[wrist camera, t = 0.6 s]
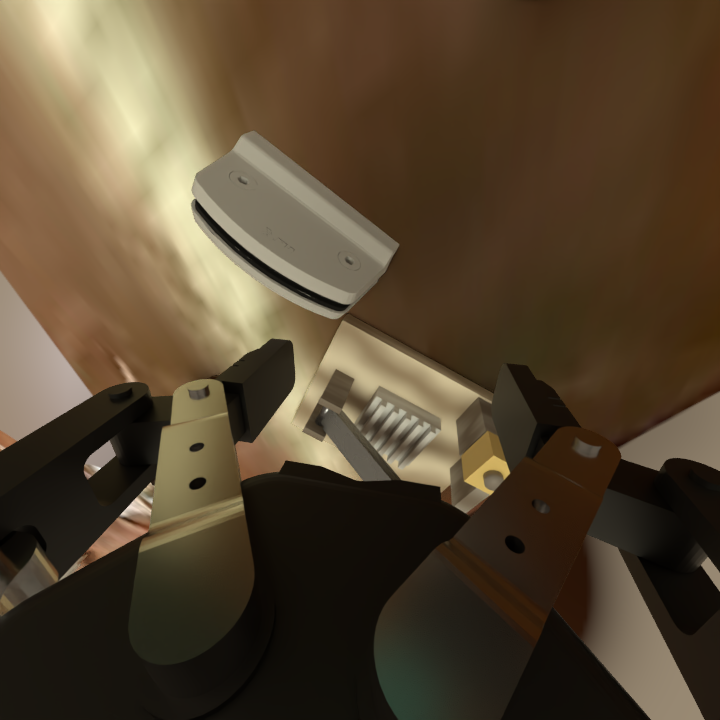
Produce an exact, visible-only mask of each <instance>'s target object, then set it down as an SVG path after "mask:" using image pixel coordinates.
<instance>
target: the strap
mask: <svg viewBox="0 0 720 720" xmlns="http://www.w3.org/2000/svg"><path fill="white" fill-rule="evenodd" d="M315 423H316V424H317V425H319V426H324V428H323V430H324V431H325V432H326V434H327V435H328V436H329V438H330V439H331V440H332V441H333V443H334V444H335V445H336V446H337V448H338V449H339V450H340V452H341V453H342V454H343V455H344V457H345V458H346V459H347V460H348V462H349V463H350V464H351V466H352V467H353V468H354V469H355V471H356V472H357V473H358V474H359V476H360V477H361V478H362V480H363V481H383V480H401V479H400V478H399V477H398V475H397V474H396V473H395V472H394V471H393V469H392V468H391V467H390V466H389V465H388V464H387V462H386V461H385V460H384V459H383V458H382V456H381V455H380V454H379V453H378V452H377V451H376V449H375V448H374V447H373V446H372V445H371V443H370V442H369V441H368V440H367V439H366V438H365V436H364V435H363V434H362V433H361V432H360V430H359V429H358V428H357V427H356V426H355V425H354V423H353V422H352V421H351V420H350V419H349V418H348V416H347V415H346V414H345V413H344V412H343V410H342V411H341V412H340V414H338V413H336V412H334V411H332V410H330V409H328V408H326V407H324V406H322V408H321V410H320V411H319V413H318V415H317V417H316V418H315Z"/></svg>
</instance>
